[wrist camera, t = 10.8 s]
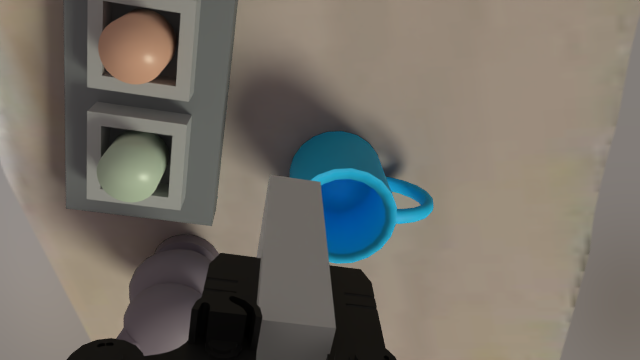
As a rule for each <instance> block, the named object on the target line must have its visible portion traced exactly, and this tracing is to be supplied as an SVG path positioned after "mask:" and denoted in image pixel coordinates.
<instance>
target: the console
mask: <svg viewBox="0 0 640 360" xmlns="http://www.w3.org/2000/svg"><path fill="white" fill-rule="evenodd" d="M237 3H238V0H64V84H65V170H66V208H67V209H75V210H84V211H92V212H100V213H109V214H117V215H125V216H133V217H142V218H150V219H158V220H167V221H175V222H183V223H192V224H200V225H208V226H212V223H213V219H214V215H215V211H216V203H217V194H218V184H219V175H220V165H221V156H222V146H223V137H224V127H225V118H226V108H227V99H228V89H229V80H230V70H231V61H232V51H233V42H234V32H235V22H236V13H237ZM138 9H147V10H152V11H154V12H157V13H159V14H160V15H162V16H163V17H164V18H165V19H166V20H167V21H168V22H169V23H170V24H171V26H172V28H173V29H174V32H175V35H176V40H177V46H176V51H175V54H174V56H173V58H172V60H171V61H170V62H169V63H168V64H167V65H166V67H165V68H164V69H163V70H162V71H161V73H160V74H159V75H158V76H157V77H156V78H155V79H153V80H152V81H150V82H147V83H144V84H128V83H125V82H122V81H120V80H118V79H116V78H115V77H113V76H112V75H111V74H110V73H109V72H108V71H107V70H106V69H105V67H104V66H103V64H102V62H101V60H100V56H99V52H98V42H99V38H100V35H101V33H102V32H103V30H104V29H105V27H106V26H108V25H109V24H110V23H111V22H113V21H115V20H116V19H118V18H120V17H122V16H123V15H125V14H127V13H129V12H131V11H133V10H138ZM126 130H135V131H142V132H149V133H155V134H157V135H158V136H159V137H160V138H161V139H162V140H163V141H164V142H165V144H166V146H167V148H168V151H169V162H168V165H167V168H166V170H165V172H164V174H163V176H162V178H161V180H160V182H159V184H158V186H157V188H156V190H155V191H154V193H153V194H152V195H151V196H149V197H148V198H146V199H145V200H142V201H139V202H123V201H120V200H117V199H115V198H113V197H111V196H110V195H109V194H107V193H106V192H105V191H104V190H103V188H102V187H101V185H100V183H99V181H98V178H97V165H98V162H99V160H100V159H101V157H102V156H103V155H104V153H105V152H106V151H107V149H108V148H109V147H110V146H111V144H112V143H113V142H114V141H115V139H116V138H117V137H118V136H119V135H120V134H121V133H123V132H124V131H126Z"/></svg>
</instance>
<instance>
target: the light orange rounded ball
mask: <svg viewBox="0 0 640 360" xmlns="http://www.w3.org/2000/svg"><path fill="white" fill-rule="evenodd" d="M176 46H177V40H176V35H175V32H174V29H173V28H172V26H171V24H170V23H169V22H168V21H167V20H166V19H165V18H164V17H163V16H162V15H160V14H159V13H157V12H154V11H152V10H147V9H138V10H133V11H131V12H129V13H127V14H125V15H123V16H122V17H120V18H118V19H116V20H115V21H113V22H111V23H110V24H109V25H108V26H106V27H105V29H104V30H103V32H102V33H101V35H100V38H99V42H98V52H99V56H100V60H101V62H102V64H103V66H104V67H105V69H106V70H107V71H108V72H109V73H110V74H111V75H112V76H113V77H115V78H116V79H118V80H120V81H122V82H125V83H128V84H144V83H147V82H150V81H152V80H153V79H155V78H156V77H157V76H158V75H159V74H160V73H161V71H162V70H163V69H164V68H165V67H166V65H167V64H168V63H169V62H170V61H171V60H172V58H173V56H174V54H175V51H176Z"/></svg>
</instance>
